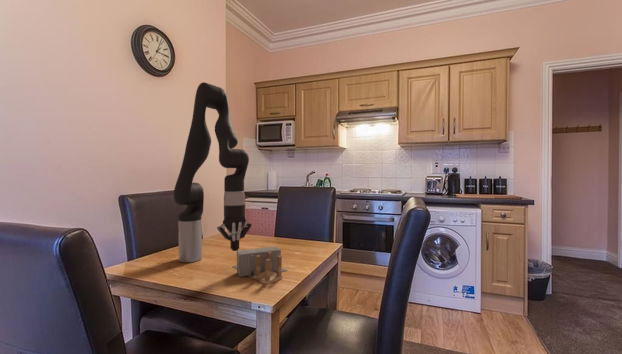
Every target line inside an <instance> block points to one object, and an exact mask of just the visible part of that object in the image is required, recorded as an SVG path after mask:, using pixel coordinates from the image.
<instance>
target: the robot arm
mask: <svg viewBox="0 0 622 354" xmlns="http://www.w3.org/2000/svg"><path fill="white" fill-rule="evenodd" d="M194 96H195V97H194V104H193V112H192V118H191V123H190V124H191V125H190V128H189V132H188V136H187V140H186V145H185V151H184V154H183V155H184V156H183V159H182V163H181V166H180V167H181V168H180V171H179V174H178V176H177V179H176V183H175V186H174V189H173V200H174V202H175V203H176V205H180V206H186V208H185V209H184V210H183V211H181V212H180V213H179V214H178V215H177V216H178V217H177V219H178V221H177V222H178V223H177V224H178V262H181V263H193V262H198V261H201V260H202V258H203V257H202V256H203V255H202V254H203V251H202V250H203V248H202V247H203V245H202V244H203V241H202V240H203V238H202V237H203V236H202V230H203V229H202V215H203V213H204V202H205V201H204V200H205V193H204V188H203V186H202V185H201V184H200V183H199V182H193V180H194V179H195V175H196V173H197V172H198V170H199V169H200V168H201V167H202V166H203V164H204V163H206V160H207V158H208V157H209V154H210V149H211V146H212V138H211V134H210V130H209V129H208V125H207V121H206V111H207V108H209V109H212V110H215V111H216V112H217V114H218V118H217V120H216V122H215V125H214V133H215V137H216V139H217V143H218V162H219V165H220V166H221V167H222V168H225V169H235V171H234V172H233V173H231V174H228V175H226V176H224V180H223V181H224V182H223V183H224V188H223V189H224V191H223V192H224V194H223V221H222V224H221V225H220V226H217V227H216V230H217V231H218V232H219V233H220V235H221V236H223V238H224V239H225V240H227V241H230V249H231V251H233V252H237V251H239V250H240V240H241V239H244V238H245V236H246V234H248V233H249V230H250V228H251V227H252V224H251V223H249V222H247V219H246V196H245V177H246V174H247V170H248V166H249V162H250V157H249V154H248V152H247V150H245V149H240V148H235V147H237V145H238V144H239V143H238V137H237V135H236V132H235V129H234V127H233V122H232V119H231V113H230V107H229V100H228V96H227V93H226V91H225V89H223V88H222V87H220V86H217V85H214V84H211V83H207V82H200V83H199V85H198V87H197V89H196V92H195V95H194ZM226 230H227V231H228V232H227V231H226Z"/></svg>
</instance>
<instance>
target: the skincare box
mask: <svg viewBox="0 0 622 354" xmlns="http://www.w3.org/2000/svg"><path fill="white" fill-rule="evenodd" d="M268 252H271V253H272V272H276V271H277V256H279V255H280V256H282V250H281V248H279V247H278V246H269V247H268V246H267V247H259V248H251V249H250V248H249V249H238V251H236V265H237V269H236V273H237V275H238V277H240V278H241V277H249V275H255V266H256V256H257V255H259V256H261V262H260V273H263V272H265V260H266V259H267V253H268Z"/></svg>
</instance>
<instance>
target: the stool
mask: <svg viewBox="0 0 622 354" xmlns="http://www.w3.org/2000/svg"><path fill="white" fill-rule="evenodd" d="M282 259H283V256H282V255H281V256H280V255H279V256H277V272H276V273H275V272H272V253H271V252H268V253H267V259H266V260H265V272H263V273H260V262H261V256H259V255H257V256H256V266H255V275H254V279H253V280H255V281H258V282H260V283H262V284H264V285H269V284H272V283H274V282H278V281H279V280H283V275H282V272H281V268H283V267H282V262H283V260H282Z"/></svg>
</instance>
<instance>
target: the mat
mask: <svg viewBox="0 0 622 354" xmlns="http://www.w3.org/2000/svg"><path fill="white" fill-rule="evenodd" d="M232 268H233V269H236V270H237V264H236V265H232ZM287 271H288V270H287V269H285V268H283V267H281V273H284V272H287ZM276 272H277V271H276ZM276 272H275V273H276ZM248 277H249V278H251V279H253V280H255V279H254V275H249V276H248Z"/></svg>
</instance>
